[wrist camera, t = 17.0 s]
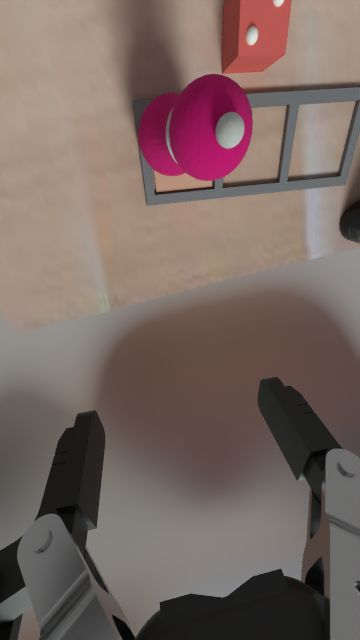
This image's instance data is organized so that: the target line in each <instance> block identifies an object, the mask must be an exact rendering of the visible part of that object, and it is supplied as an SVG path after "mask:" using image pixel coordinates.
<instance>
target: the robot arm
mask: <svg viewBox="0 0 360 640" xmlns="http://www.w3.org/2000/svg"><path fill="white" fill-rule="evenodd" d="M258 406H259V409H260V412H261V413H262V415H263V417H264V419H265V421H266V423H267V425H268V427H269V428H270V430H271V432H272V434H273V436H274V438H275V440H276V442H277V443H278V445H279V447H280V449H281V451H282V453H283V455H284V457H285V459H286V461H287V462H288V464H289V466H290V468H291V470H292V472H293V474H294V476H295V477H296V479H297V481H302V480H307V482H308V484H309V486H310V490H309V506H308V523H307V539H306V545H305V550H304V554H303V561H302V574H301V581H299V580H297V579H294V578H291V577H288V576H284V575H283V572H282V570H281V569H278V570H275V571H271V572H268V573H264V574H260V575H257V576H253V577H251V578H250V579H249V580H248V581H246V582H245V583H244V584H242V585H241V586H240V587H239V588H237V589H236V590H235V591H233V592H232V593H231V594H230V595H228V596H227V597H224V598H221V597H213V596H204V595H197V594H188V595H184V596H181V597H177V598H174V599H170V600H166V601H163V602H160V610H159V611H157V612H156V613H155V614H154V615H153V616H152V617H151V618H150V619H149V620H148V621H147V622H146V624H145V625H144V626H143V627H142V629H141V630H140V632H139V633H138V635H137V636H136V634H135V632H134V630H133V628H132V627H131V625H130V623H129V621H128V619H127V617H126V615H125V614H124V612H123V610H122V609H121V607H120V605H119V604H118V602H117V601H116V599H115V598H114V596H113V595H112V593H111V591H110V589H109V588H108V586H107V584H106V582H105V581H104V578H103V576H102V575H101V573H100V571H99V569H98V567H97V565H96V563H95V562H94V560H93V558H92V556H91V555H90V552H89V550H88V548H87V547H86V540H87V532H88V530H91V529H96V528H97V518H98V508H99V498H100V488H101V479H102V469H103V459H104V449H105V431H104V428H103V425H102V423H101V421H100V419H99V416H98V414H97V412H96V411H95V410H94V411H89V412H83V413H79V414H78V415H77V417H76V420H75V425H74V427H72V428H67V429H66V430H65V431H64V433H63V434H62V436H61V438H60V439H59V441H58V444H57V448H56V451H55V456H54V459H53V462H52V467H51V470H50V474H49V477H48V480H47V484H46V488H45V492H44V495H43V499H42V502H41V506H40V509H39V513H38V515H37V517H36V519H35V521H34V522H33V523H32V524H31V525H30V526H29V528H28V529H27V530H26V532H25V533H24V535H23V536H22V537H20V538H19V539H18V540H17V541H15V542H14V543H12V544H10V545H9V546H7V547H5V548H4V549H2V550H0V640H17V638H18V634H19V629H20V624H21V619H22V614H23V613H24V612H25V611H26V610H28V609H29V608H30V607H32V606H33V609H34V612H35V615H36V618H37V621H38V624H39V628H40V638H39V640H360V458H358V457H357V456H356V455H354V454H353V453H351V452H349V451H346V450H344V449H343V448H342V447H341V446H340V445H339V444H338V443H337V441H336V440H335V439H334V437H333V436H332V435H331V433H330V432H329V431H328V429H327V428H326V427H325V426H324V424H323V423H322V422H321V420H320V419H319V418H318V416H317V415H316V414H315V413H314V411H313V410H312V408H311V407H310V406H309V405H308V403H307V402H306V400H305V399H304V398H303V396H302V395H301V394H300V393H299V392H298V391H296V390H295V389H294V388H292V387H291V386H286V387H285V386H284V385H283V383H282V382H281V380H280V379H279V378H278V377H272V378H267V379H262V380H261V381H260V387H259V393H258Z"/></svg>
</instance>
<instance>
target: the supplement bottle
mask: <svg viewBox="0 0 360 640" xmlns="http://www.w3.org/2000/svg"><path fill="white" fill-rule="evenodd" d="M340 230H341V234H342V236H343V237H344V238H345V239H347V240H350V241H353V242H356V243H360V200H358V201H357V202H355V203H354V204H352V205H351V206H350V207H349V208H348V210H347V211H346V212H345V214H344V216H343V218H342V221H341V225H340Z"/></svg>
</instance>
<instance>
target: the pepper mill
mask: <svg viewBox="0 0 360 640" xmlns="http://www.w3.org/2000/svg"><path fill="white" fill-rule="evenodd" d="M252 124H253V120H252V110H251V106H250V103H249V100H248V98H247V96H246V94H245V93H244V91H243V89H242V88H241V87H240V86H239V85H238V84H237V83H236V82H235V81H233V80H232V79H230V78H229V77H226V76H223V75H218V74H210V75H205V76H202V77H200V78H197V79H195V80H194V81H193V82H191V83H190V84H189V85H188V86H187V87H186V88H185V89H184V90H183V92H182V93H181V94H176V93H167V94H163V95H160V96H158V97H156V98H155V99H153V100H152V101H151V102H150V103H149V104H148V105H147V107H146V108H145V110H144V112H143V114H142V116H141V120H140V124H139V131H138V141H139V146H140V149H141V152H142V154H143V156H144V158H145V160H146V161H147V163H148V164H149V165H150V166H151V167H152V168H153V169H154V170H155V171H157V172H158V173H160V174H162V175H166V176H179V175H182V174H184V173H187V174H188V175H189V176H191V177H193V178H195V179H197V180H202V181H213V180H217V179H220V178H222V177H225V176H226V175H228V174H229V173H231V172H232V171H233V170H234V169H235V168H236V167H237V166H238V165H239V164H240V162H241V161H242V159H243V157H244V156H245V154H246V151H247V149H248V146H249V143H250V140H251V135H252Z"/></svg>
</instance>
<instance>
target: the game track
mask: <svg viewBox="0 0 360 640" xmlns="http://www.w3.org/2000/svg"><path fill="white" fill-rule="evenodd" d="M246 96H247V98H248V100H249V103H250V106H251V108H253V107H269V106H284V105H288V106H287V113H286V121H285V129H284V136H283V144H282V151H281V159H280V167H279V174H278V182H277V183H267V184H257V185H247V186H237V187H227V188H223V177H222V178H220V179H217V180H214V189H207V190H197V191H187V192H177V193H167V194H157V195H155V192H154V184H153V175H152V167H151V166H150V165H149V164H148V163H147V161H146V160H145V158H144V156H143V154H142V152H141V149H140V155H141V163H142V170H143V177H144V185H145V192H146V199H147V206H148V205H157V204H167V203H176V202H186V201H195V200H205V199H215V198H224V197H234V196H243V195H253V194H263V193H272V192H282V191H291V190H301V189H310V188H320V187H330V186H339V185H345V184H346V181H347V177H348V173H349V170H350V166H351V162H352V158H353V155H354V151H355V147H356V144H357V140H358V136H359V132H360V87H355V88H338V89H321V90H304V91H287V92H270V93H253V94H246ZM152 100H153V99H151V100H134V101H133V104H134V111H135V119H136V126H137V133H138V131H139V124H140V120H141V116H142V114H143V112H144V110H145V108H146V107H147V105H148V104H149V103H150V102H151V101H152ZM346 101H356V105H355V109H354V113H353V117H352V121H351V125H350V129H349V133H348V137H347V141H346V145H345V149H344V153H343V157H342V161H341V165H340V169H339V173H338V176H337V177H327V178H317V179H307V180H297V181H287V180H288V173H289V166H290V160H291V153H292V147H293V140H294V133H295V127H296V120H297V114H298V107H299V105H300V104H315V103H330V102H346ZM139 148H140V146H139ZM154 176H155V185H156V192H164V191H174V190H184V189H194V188H204V187H212V181H202V180H197V179H195V178H193V177H191V176H189V175H188V174H187V173H184V174H182V175H179V176H166V175H162V174H160V173H158V172H157V171H155V170H154Z"/></svg>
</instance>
